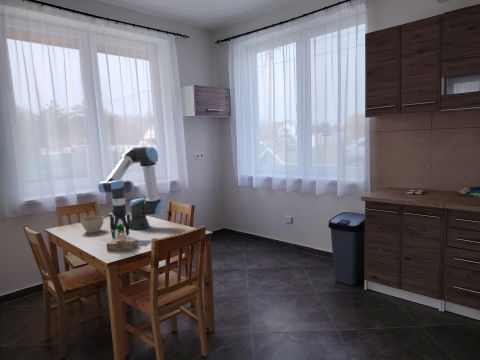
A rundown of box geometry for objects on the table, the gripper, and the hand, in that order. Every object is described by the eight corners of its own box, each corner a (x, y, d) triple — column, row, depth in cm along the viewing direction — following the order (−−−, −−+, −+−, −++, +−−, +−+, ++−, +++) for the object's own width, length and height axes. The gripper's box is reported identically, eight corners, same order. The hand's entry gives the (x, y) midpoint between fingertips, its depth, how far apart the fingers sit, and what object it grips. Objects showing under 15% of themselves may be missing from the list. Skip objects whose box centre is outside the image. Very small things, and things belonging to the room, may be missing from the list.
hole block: (115, 246, 222) (114, 238, 222) (137, 246, 220) (137, 239, 219) (107, 251, 213) (106, 243, 212) (130, 251, 210) (129, 244, 209)
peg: (121, 248, 218) (120, 233, 217) (125, 248, 217) (124, 233, 216) (119, 249, 215) (118, 234, 214) (123, 249, 214) (122, 234, 213)
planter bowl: (96, 234, 251) (95, 220, 250) (77, 234, 254) (76, 220, 253) (108, 229, 267) (107, 215, 265) (90, 228, 270) (89, 215, 269)
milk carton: (122, 234, 250) (120, 208, 247) (126, 237, 242) (124, 210, 240) (110, 236, 244) (108, 210, 242) (113, 239, 237) (111, 212, 235)
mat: (137, 240, 232) (137, 240, 232) (153, 241, 231) (153, 240, 231) (129, 246, 221) (129, 245, 221) (146, 246, 219) (146, 246, 219)
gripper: (101, 205, 210) (105, 241, 213) (130, 205, 207) (133, 241, 210) (108, 203, 218) (111, 237, 221) (135, 203, 215) (138, 238, 218)
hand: (121, 239), depth 215 cm, fingers open, 6 cm apart
